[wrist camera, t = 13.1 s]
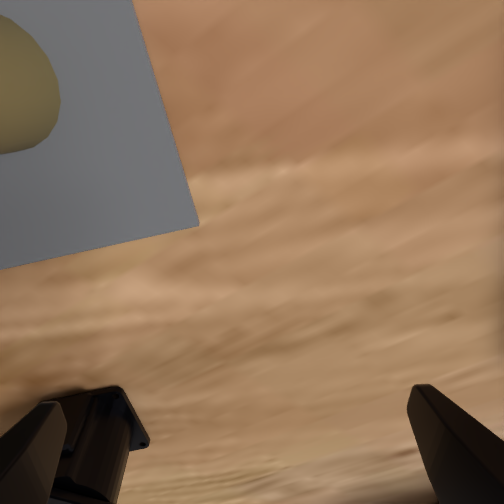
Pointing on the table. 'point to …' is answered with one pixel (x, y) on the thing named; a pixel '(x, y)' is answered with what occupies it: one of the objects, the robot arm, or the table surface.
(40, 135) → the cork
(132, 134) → the mat
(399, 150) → the table surface
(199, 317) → the table surface
